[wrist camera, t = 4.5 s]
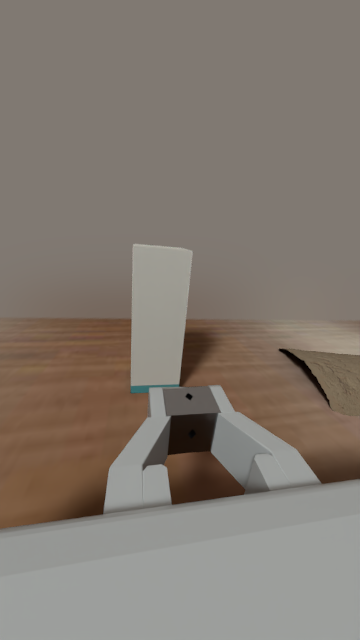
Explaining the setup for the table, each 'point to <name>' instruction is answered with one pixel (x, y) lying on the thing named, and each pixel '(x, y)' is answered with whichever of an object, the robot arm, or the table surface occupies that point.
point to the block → (158, 315)
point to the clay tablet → (336, 378)
